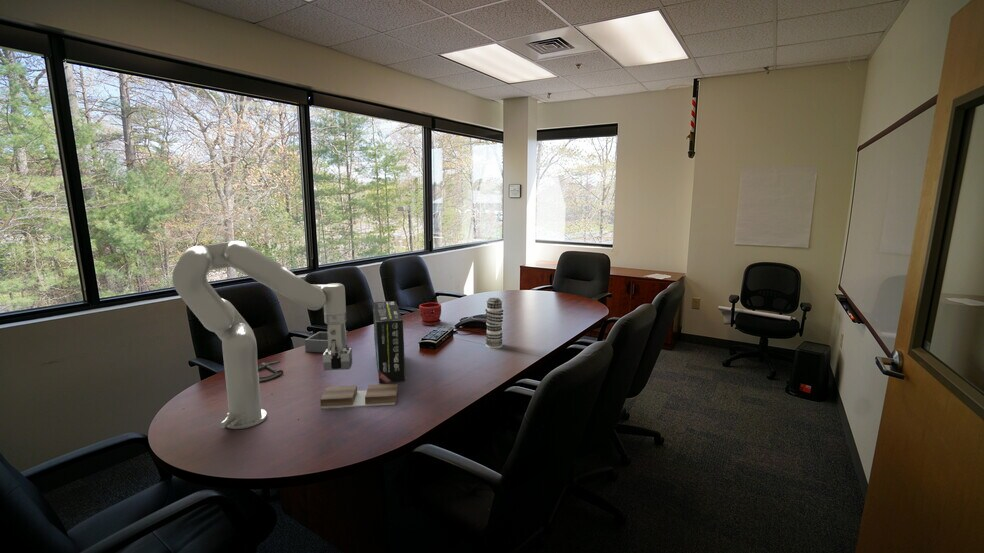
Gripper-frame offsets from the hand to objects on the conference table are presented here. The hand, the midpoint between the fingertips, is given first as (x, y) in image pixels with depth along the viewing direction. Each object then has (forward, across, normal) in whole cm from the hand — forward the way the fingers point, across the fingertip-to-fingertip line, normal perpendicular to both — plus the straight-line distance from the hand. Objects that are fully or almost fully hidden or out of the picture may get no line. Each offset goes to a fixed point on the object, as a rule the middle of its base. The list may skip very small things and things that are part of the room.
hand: (338, 364), depth 163 cm
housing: (+1, 0, 0) cm, 1 cm away
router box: (+14, +31, -15) cm, 37 cm away
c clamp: (+14, +32, +36) cm, 50 cm away
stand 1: (+14, 0, 0) cm, 14 cm away
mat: (+14, 0, -8) cm, 16 cm away
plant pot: (+14, +102, -34) cm, 109 cm away
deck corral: (+14, +63, +18) cm, 67 cm away
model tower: (+15, +56, -66) cm, 88 cm away
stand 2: (+14, 0, -15) cm, 21 cm away
